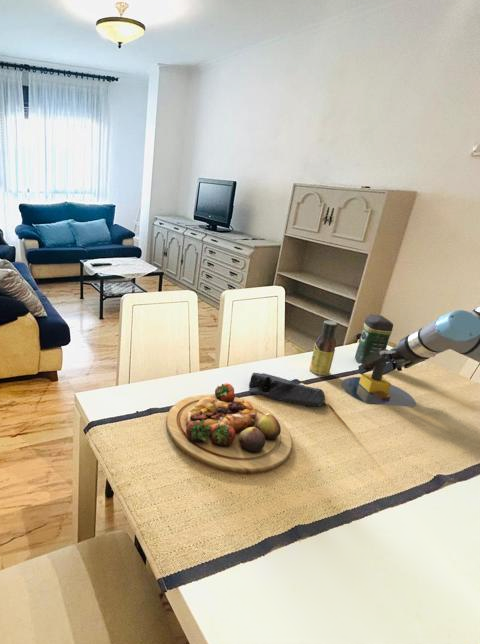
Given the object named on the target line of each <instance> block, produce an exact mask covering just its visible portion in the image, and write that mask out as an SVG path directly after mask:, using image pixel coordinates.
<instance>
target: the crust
mask: <svg viewBox="0 0 480 644" xmlns="http://www.w3.org/2000/svg"><path fill="white" fill-rule="evenodd" d="M373 395H374V396H376V397H377V398H379V399H380V400H386V399H390V397H391V396H389V395H388V394H386V393H384V392H383V391H378V392H374V393H373Z"/></svg>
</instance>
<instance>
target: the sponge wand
mask: <svg viewBox="0 0 480 644" xmlns="http://www.w3.org/2000/svg"><path fill="white" fill-rule="evenodd" d="M388 350H389V349H387V348H386V349H385V351H388ZM385 366H386V363H384V364H381V365H378V366H375V367H374V369H372V373H371V374H369V373H364V374H360V377H361V378H360V381H359V384H360V385H361V386H362V387H364V388H365V389H366V390H367V391H368V392H369V393H374V392H378V391H383V392H384V393H386V394H388V393H389V390H390V386H391V385H392V383H391V382H390V381H388V380H387V379H386V378H385V377H383V376H384V375H383V373H384V369H385Z"/></svg>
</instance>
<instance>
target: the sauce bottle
mask: <svg viewBox="0 0 480 644" xmlns="http://www.w3.org/2000/svg"><path fill="white" fill-rule="evenodd" d="M337 327H338V323H337V322H336V321H334V320H324V321H323V323H322V330H321V334H319V336H318V337H317V339H316V340H315V342H314V347H313V351H312V355H311V360H310V361H311V362H310V364H309V372H310V373H312V374H313V375H315V376H319V377H327V376H329V374H330V371H331V368H332V364H333V360H334V356H335V351H336V346H337V341H336V338H335V332H336V329H337Z"/></svg>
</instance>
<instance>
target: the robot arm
mask: <svg viewBox="0 0 480 644" xmlns="http://www.w3.org/2000/svg"><path fill="white" fill-rule="evenodd" d="M387 350H388V351H385V349H384V348H381V349H379V350H378V351H377V352H375V353H373V354H371V355H369V356H367V357H365V358H363V364H359V365H358V372H359V375H361V374H367V373H368V372H369V371H373V369H374V367H375V366H378V365H381V364H384V363H386V366H385V369H384V373H383V376H385V375H387V374H389V373H391V372H393V371H395V370H396V371H397V372H402V371H403V369H409V368H411V367H413V366H415V365H418V364H419V363H422V362H423V361H426V360H429V359H430V358H435V357H436V355H438V354H441V353H444V352H445V351H448V350H451V351H453V352H455V353H457V354H460V355H463V356H465V357H467V358H469V359H471V360H473V361H476V362H478V363H480V304H479V305H478V306H476V307H475V308H474V309H473V310H471V311H467V310H464V309H456V310H453V311H450V312H447V313H446V314H443V315H441V316H439V317H438V318H436V319H435V320H433V321H430V323H428V324H426V325H424V326H423V327H421V328H419V329H416V330H415V331H414V332H412V333H410V334H408V335H406V336H404V337H403V338H401V339H400V340H399V341H398V344H397V346H394V347H392V348H390V349H387Z"/></svg>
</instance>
